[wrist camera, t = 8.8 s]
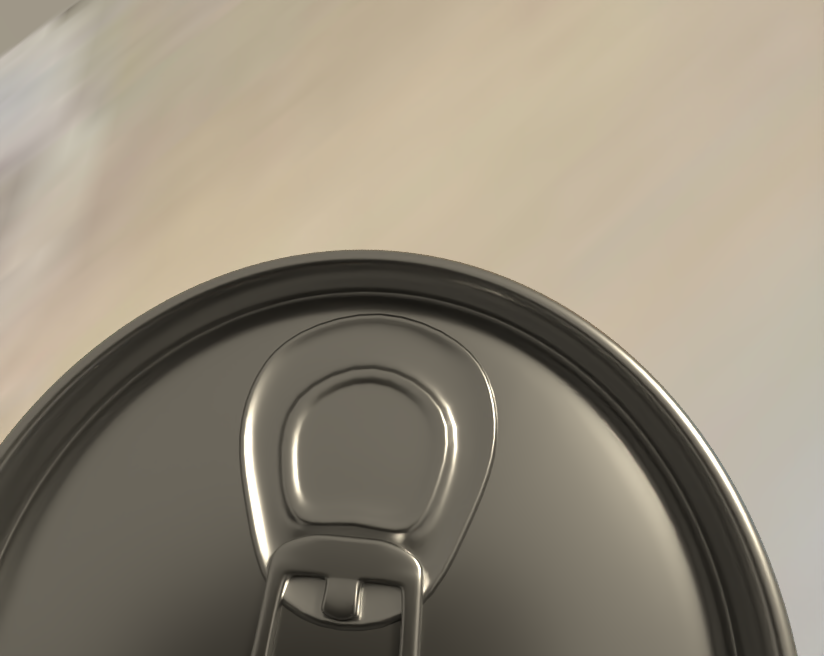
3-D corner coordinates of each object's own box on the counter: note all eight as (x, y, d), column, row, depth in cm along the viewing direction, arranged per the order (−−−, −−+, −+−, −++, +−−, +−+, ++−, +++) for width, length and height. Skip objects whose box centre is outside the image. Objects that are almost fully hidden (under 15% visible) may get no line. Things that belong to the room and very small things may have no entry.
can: (554, 481, 15) (788, 216, 5) (556, 776, 13) (1139, 1860, 2) (319, 461, 16) (32, 191, 5) (275, 738, 13) (-505, 1375, 3)
